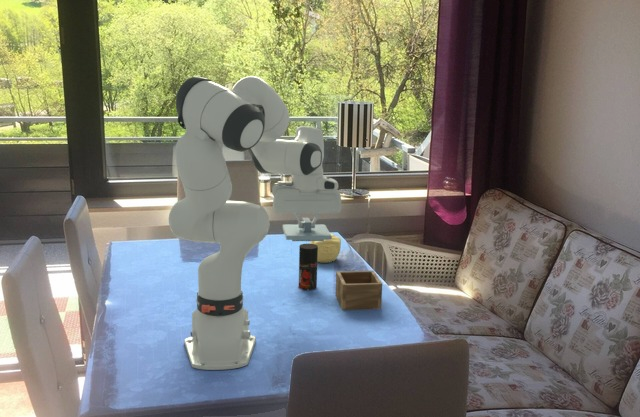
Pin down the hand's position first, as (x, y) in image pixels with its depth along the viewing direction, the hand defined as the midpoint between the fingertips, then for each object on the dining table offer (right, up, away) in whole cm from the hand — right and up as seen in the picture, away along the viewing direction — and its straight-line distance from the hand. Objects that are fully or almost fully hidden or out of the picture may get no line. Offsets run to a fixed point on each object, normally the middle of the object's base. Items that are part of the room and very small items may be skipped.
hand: (306, 227), depth 190 cm
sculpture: (+6, -14, +51) cm, 53 cm away
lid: (0, -2, +1) cm, 2 cm away
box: (+16, -24, +10) cm, 31 cm away
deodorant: (0, -21, +21) cm, 30 cm away
